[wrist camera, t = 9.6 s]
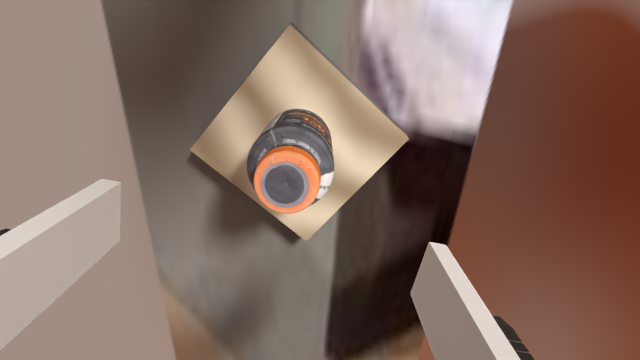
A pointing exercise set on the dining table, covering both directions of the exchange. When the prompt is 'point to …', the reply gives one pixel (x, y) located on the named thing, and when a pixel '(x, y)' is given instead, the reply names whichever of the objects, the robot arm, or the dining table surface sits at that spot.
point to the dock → (309, 94)
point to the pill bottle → (292, 161)
